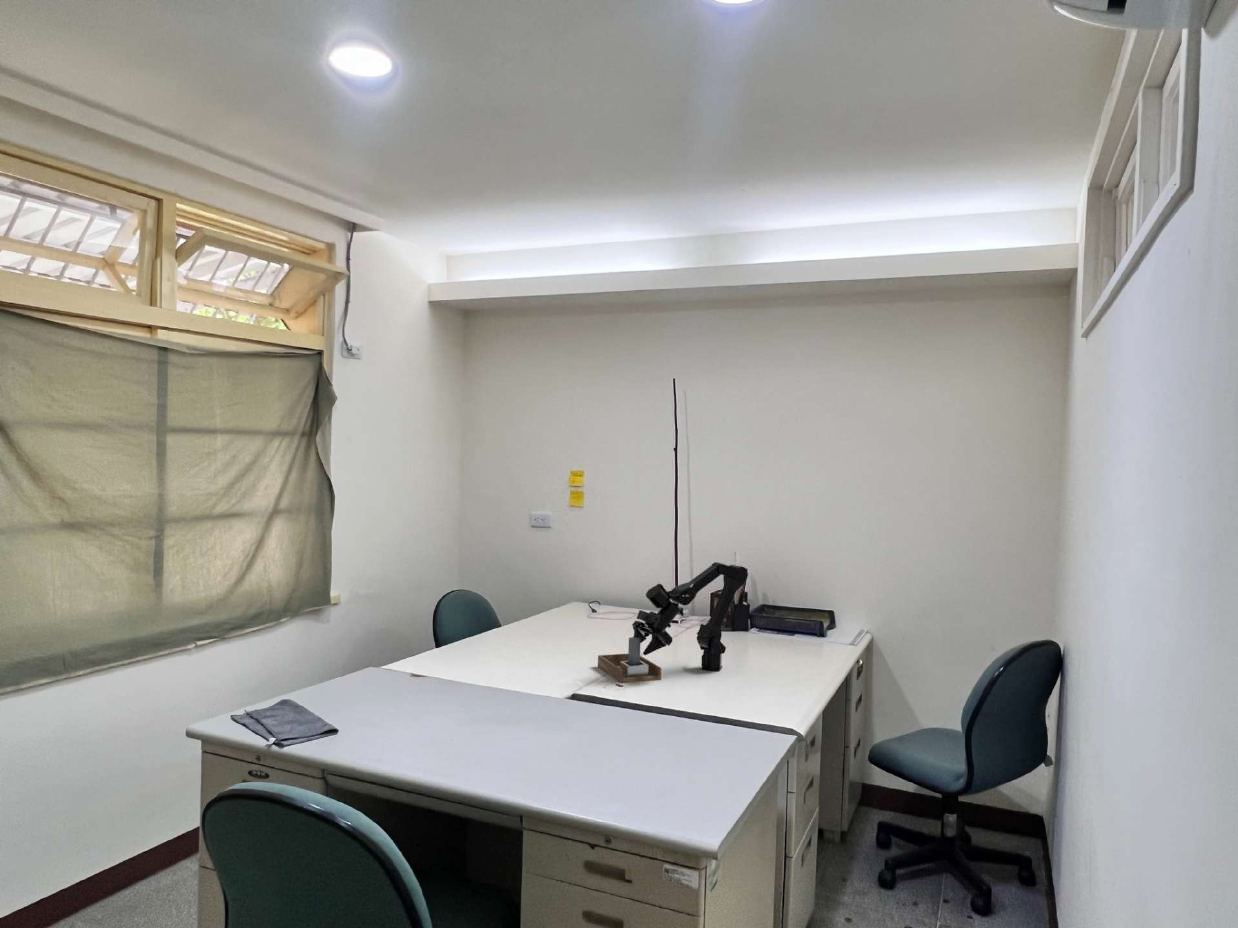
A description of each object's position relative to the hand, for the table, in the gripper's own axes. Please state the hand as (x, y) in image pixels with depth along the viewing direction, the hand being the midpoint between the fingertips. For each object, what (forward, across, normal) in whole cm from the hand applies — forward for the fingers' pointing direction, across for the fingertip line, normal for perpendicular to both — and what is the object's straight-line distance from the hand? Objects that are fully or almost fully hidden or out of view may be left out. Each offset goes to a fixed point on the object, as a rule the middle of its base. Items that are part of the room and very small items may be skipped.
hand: (637, 651), depth 283 cm
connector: (+7, 0, +5) cm, 8 cm away
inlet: (+7, 0, +5) cm, 8 cm away
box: (+7, -5, +6) cm, 10 cm away
